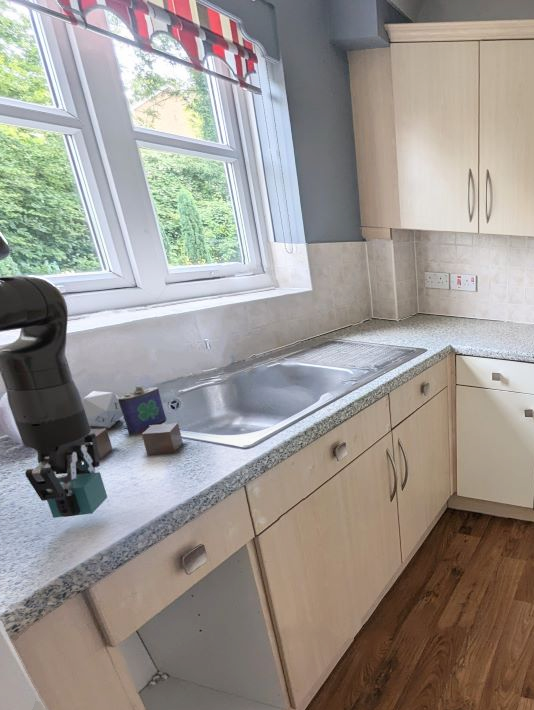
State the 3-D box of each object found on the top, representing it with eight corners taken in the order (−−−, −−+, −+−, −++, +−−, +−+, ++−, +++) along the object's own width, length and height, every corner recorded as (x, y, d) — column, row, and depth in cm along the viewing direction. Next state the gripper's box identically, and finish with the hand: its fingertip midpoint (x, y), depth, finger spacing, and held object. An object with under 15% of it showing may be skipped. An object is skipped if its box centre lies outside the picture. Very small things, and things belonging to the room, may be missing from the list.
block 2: (147, 455, 98) (141, 434, 96) (156, 445, 102) (151, 424, 100) (174, 452, 99) (169, 431, 98) (182, 442, 104) (178, 422, 102)
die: (84, 438, 105) (108, 403, 105) (57, 415, 106) (80, 380, 105) (121, 435, 113) (143, 403, 113) (95, 414, 114) (117, 382, 114)
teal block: (53, 518, 72) (43, 491, 71) (71, 501, 77) (62, 475, 75) (92, 513, 74) (83, 487, 72) (107, 497, 78) (100, 472, 77)
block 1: (71, 461, 94) (63, 440, 92) (84, 451, 98) (77, 430, 96) (101, 459, 95) (94, 437, 93) (112, 448, 100) (106, 428, 98)
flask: (160, 419, 115) (150, 379, 111) (171, 420, 115) (161, 380, 111) (125, 434, 106) (112, 391, 103) (136, 435, 106) (123, 392, 102)
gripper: (47, 396, 74) (76, 486, 80) (-19, 431, 62) (22, 535, 68) (104, 394, 77) (128, 481, 83) (52, 427, 64) (85, 527, 70)
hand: (80, 505), depth 75 cm, fingers closed on teal block, 5 cm apart
